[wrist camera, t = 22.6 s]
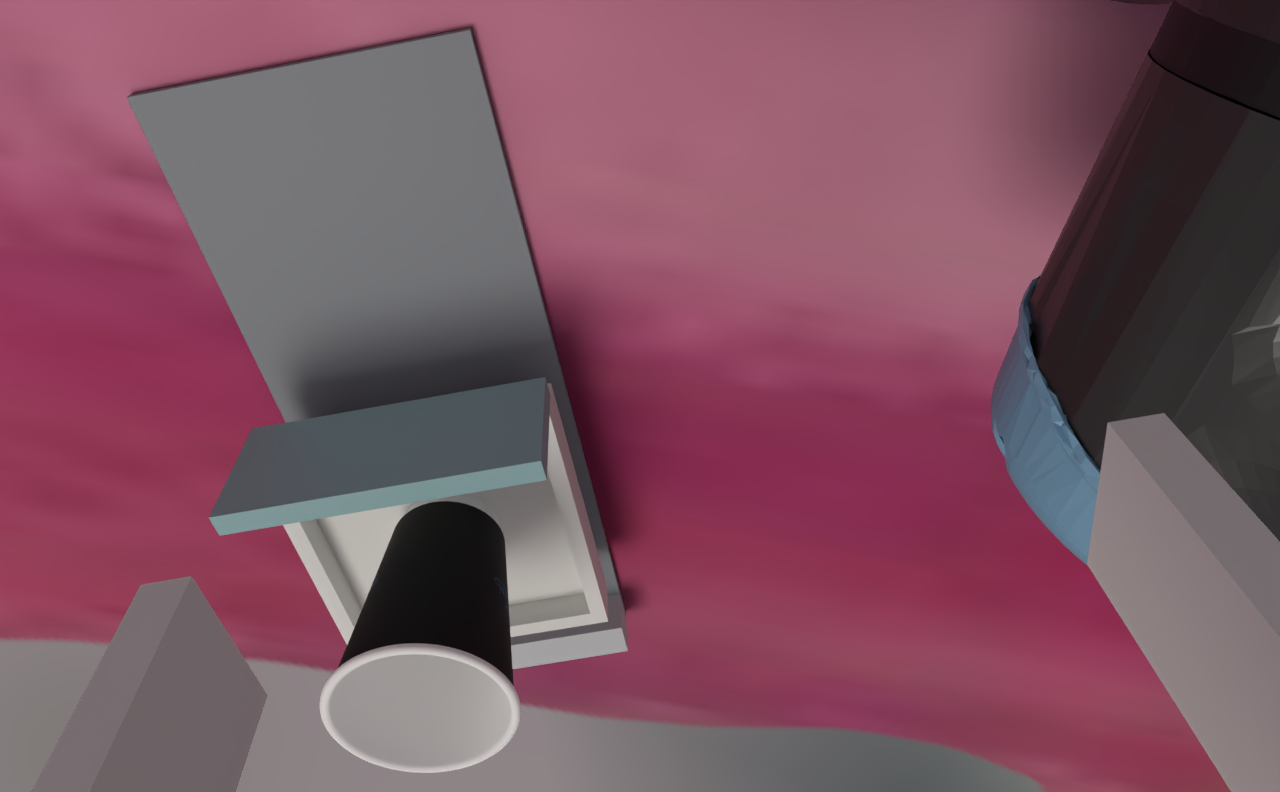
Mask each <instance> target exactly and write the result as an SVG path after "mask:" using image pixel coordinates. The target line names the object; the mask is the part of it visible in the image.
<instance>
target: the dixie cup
mask: <svg viewBox="0 0 1280 792" xmlns="http://www.w3.org/2000/svg"><path fill="white" fill-rule="evenodd" d="M320 714H321V718H322V721H323V723H324V726H325V727H326V729H327V730H328V732H329V733H330V735H331V736H332V737H333V738H334V739H335V740H336V741H337V742H338V743H339V744H340V745H341V746H342V747H344V748H345V749H346V750H348V751H349V752H350V753H352V754H354V755H356V756H357V757H359V758H361V759H363V760H365V761H367V762H370V763H372V764H375V765H378V766H381V767H385V768H389V769H393V770H398V771H406V772H416V773H435V772H445V771H452V770H457V769H461V768H465V767H468V766H471V765H474V764H476V763H479V762H481V761H484V760H485V759H487V758H489V757H491V756H492V755H494V754H496V753H497V752H498V751H500V750H501V749H502V748H503V747H505V745H506V744H507V743H508V742H509V741H510V740H511V739H512V737H513V736H514V734H515V732H516V730H517V728H518V725H519V722H520V718H521V705H520V701H519V697H518V694H517V692H516V690H515V688H514V686H513V669H512V652H511V635H510V618H509V601H508V584H507V567H506V550H505V539H504V535H503V532H502V530H501V528H500V525H499V521H498V518H497V516H496V514H495V513H494V511H493V510H492V509H491V508H490V507H489V506H488V505H487V504H486V503H485V502H483V501H482V500H480V499H478V498H476V497H474V496H471V495H469V494H462V495H456V496H450V497H444V498H438V499H432V500H427V501H421V502H415V503H413V504H412V505H411V506H410V507H409V509H408V510H407V512H406V514H405V515H404V516H403V517H402V518H401V519H400V521H399V522H398V523H397V525H396V527H395V529H394V532H393V534H392V537H391V539H390V542H389V544H388V546H387V549H386V551H385V554H384V556H383V559H382V561H381V564H380V566H379V569H378V571H377V573H376V576H375V578H374V581H373V583H372V586H371V588H370V591H369V593H368V596H367V598H366V601H365V603H364V605H363V608H362V610H361V613H360V615H359V618H358V620H357V623H356V625H355V628H354V630H353V632H352V635H351V637H350V640H349V642H348V645H347V647H346V650H345V652H344V655H343V657H342V660H341V662H340V664H339V667H338V668H337V669H336V670H335V671H334V672H333V673H332V675H331V676H330V677H329V679H328V680H327V682H326V684H325V685H324V687H323V689H322V692H321V696H320Z"/></svg>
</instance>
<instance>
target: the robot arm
mask: <svg viewBox="0 0 1280 792" xmlns="http://www.w3.org/2000/svg"><path fill="white" fill-rule="evenodd" d="M1112 1H1118V2H1125V3H1136V4H1166V3H1172V5H1171V7H1170V9H1169V11H1168V13H1167V15H1166V17H1165V19H1164V22H1163V24H1162V26H1161V28H1160V30H1159V32H1158V34H1157V36H1156V38H1155V40H1154V43H1153V45H1152V47H1151V48H1150V49H1149V51H1148V53H1147V56H1146V58H1145V60H1144V62H1143V64H1142V66H1141V68H1140V71H1139V73H1138V75H1137V77H1136V79H1135V81H1134V83H1133V85H1132V87H1131V89H1130V91H1129V93H1128V95H1127V98H1126V100H1125V102H1124V104H1123V106H1122V108H1121V110H1120V112H1119V114H1118V116H1117V118H1116V120H1115V122H1114V125H1113V127H1112V129H1111V131H1110V133H1109V135H1108V137H1107V139H1106V141H1105V143H1104V145H1103V147H1102V149H1101V152H1100V154H1099V156H1098V158H1097V160H1096V162H1095V164H1094V166H1093V168H1092V170H1091V172H1090V174H1089V176H1088V178H1087V181H1086V183H1085V185H1084V187H1083V189H1082V191H1081V193H1080V195H1079V197H1078V199H1077V201H1076V203H1075V205H1074V208H1073V210H1072V212H1071V214H1070V216H1069V218H1068V220H1067V222H1066V224H1065V226H1064V228H1063V230H1062V232H1061V235H1060V237H1059V239H1058V241H1057V243H1056V245H1055V247H1054V249H1053V251H1052V253H1051V255H1050V257H1049V259H1048V262H1047V264H1046V266H1045V268H1044V270H1043V272H1042V274H1041V276H1039V277H1038V278H1036V279H1034V280H1032V282H1031V284H1030V285H1029V287H1028V288H1027V290H1026V292H1025V294H1024V296H1023V299H1022V302H1021V305H1020V309H1019V320H1018V327H1017V329H1016V332H1015V334H1014V337H1013V339H1012V341H1011V344H1010V346H1009V349H1008V351H1007V354H1006V356H1005V358H1004V361H1003V363H1002V366H1001V368H1000V371H999V373H998V375H997V378H996V381H995V384H994V388H993V392H992V399H991V423H992V429H993V434H994V436H995V439H996V442H997V445H998V447H999V449H1000V451H1001V452H1002V454H1003V455H1004V457H1005V460H1006V469H1007V471H1008V474H1009V476H1010V477H1011V479H1012V481H1013V483H1014V484H1015V486H1016V487H1017V489H1018V491H1019V492H1020V493H1021V495H1022V496H1023V498H1024V499H1025V501H1026V502H1027V504H1028V505H1029V506H1030V508H1031V509H1032V510H1033V511H1034V513H1035V514H1036V515H1037V516H1038V518H1039V519H1040V520H1041V521H1042V522H1043V523H1044V525H1045V526H1046V527H1047V528H1048V529H1049V530H1050V531H1051V532H1052V533H1053V534H1054V535H1055V536H1056V537H1057V538H1058V539H1059V540H1060V541H1061V542H1062V543H1063V544H1064V545H1065V546H1066V547H1067V548H1068V549H1069V550H1070V551H1071V552H1072V553H1073V554H1074V555H1076V556H1077V557H1078V558H1079V559H1080V560H1081V561H1083V562H1084V563H1085V564H1086V565H1087V566H1089V568H1090V569H1091V571H1092V573H1093V574H1094V576H1095V577H1096V579H1097V581H1098V582H1099V584H1100V585H1101V587H1102V588H1103V590H1104V592H1105V593H1106V595H1107V596H1108V598H1109V599H1110V601H1111V603H1112V604H1113V606H1114V607H1115V609H1116V611H1117V612H1118V614H1119V615H1120V617H1121V618H1122V620H1123V622H1124V623H1125V625H1126V626H1127V628H1128V629H1129V631H1130V633H1131V634H1132V636H1133V637H1134V639H1135V641H1136V642H1137V644H1138V645H1139V647H1140V648H1141V650H1142V652H1143V653H1144V655H1145V656H1146V658H1147V659H1148V661H1149V663H1150V664H1151V666H1152V667H1153V669H1154V670H1155V672H1156V674H1157V675H1158V677H1159V678H1160V680H1161V682H1162V683H1163V685H1164V686H1165V688H1166V689H1167V691H1168V693H1169V694H1170V696H1171V697H1172V699H1173V700H1174V702H1175V704H1176V705H1177V707H1178V708H1179V710H1180V712H1181V713H1182V715H1183V716H1184V718H1185V719H1186V721H1187V723H1188V724H1189V726H1190V727H1191V729H1192V730H1193V732H1194V734H1195V735H1196V737H1197V738H1198V740H1199V742H1200V743H1201V745H1202V746H1203V748H1204V749H1205V751H1206V753H1207V754H1208V756H1209V757H1210V759H1211V760H1212V762H1213V764H1214V765H1215V767H1216V768H1217V770H1218V771H1219V773H1220V775H1221V776H1222V778H1223V779H1224V781H1225V783H1226V784H1227V786H1228V787H1229V789H1230V790H1231V792H1280V0H1112ZM266 698H267V694H266V692H265V691H264V689H263V687H262V686H261V684H260V683H259V681H258V680H257V678H256V676H255V675H254V673H253V672H252V670H251V669H250V667H249V665H248V664H247V662H246V661H245V659H244V658H243V656H242V654H241V653H240V651H239V650H238V648H237V647H236V645H235V643H234V642H233V640H232V639H231V637H230V636H229V634H228V633H227V631H226V629H225V628H224V626H223V625H222V623H221V622H220V620H219V618H218V617H217V615H216V614H215V612H214V611H213V609H212V607H211V606H210V604H209V603H208V601H207V600H206V598H205V597H204V595H203V593H202V592H201V590H200V589H199V587H198V586H197V584H196V582H195V581H194V579H193V578H192V576H190V577H184V578H178V579H172V580H167V581H161V582H155V583H149V584H143V585H141V586H140V588H139V589H138V591H137V593H136V595H135V597H134V599H133V601H132V603H131V605H130V606H129V608H128V610H127V612H126V614H125V616H124V618H123V620H122V621H121V623H120V625H119V627H118V629H117V631H116V633H115V635H114V637H113V638H112V640H111V642H110V644H109V646H108V648H107V650H106V652H105V654H104V655H103V657H102V659H101V661H100V663H99V665H98V667H97V669H96V670H95V672H94V674H93V676H92V678H91V680H90V682H89V684H88V686H87V687H86V690H85V691H84V693H83V695H82V697H81V699H80V701H79V703H78V704H77V706H76V708H75V710H74V712H73V714H72V716H71V718H70V720H69V721H68V723H67V725H66V727H65V729H64V731H63V733H62V735H61V736H60V738H59V740H58V742H57V744H56V746H55V748H54V750H53V752H52V753H51V755H50V757H49V759H48V761H47V763H46V765H45V767H44V768H43V770H42V772H41V774H40V776H39V778H38V780H37V782H36V784H35V785H34V788H33V789H32V791H31V792H235V791H236V788H237V785H238V782H239V779H240V776H241V773H242V770H243V767H244V764H245V761H246V758H247V755H248V752H249V749H250V746H251V743H252V740H253V737H254V734H255V731H256V728H257V725H258V722H259V719H260V716H261V713H262V710H263V707H264V704H265V701H266Z"/></svg>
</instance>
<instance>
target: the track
mask: <svg viewBox="0 0 1280 792" xmlns="http://www.w3.org/2000/svg"><path fill="white" fill-rule="evenodd" d="M127 99H128V101H129V103H130V105H131V108H132V110H133V112H134V114H135V116H136V118H137V120H138V122H139V124H140V126H141V128H142V130H143V132H144V134H145V136H146V138H147V140H148V142H149V144H150V146H151V148H152V150H153V152H154V155H155V157H156V159H157V161H158V163H159V165H160V167H161V169H162V171H163V173H164V175H165V177H166V179H167V181H168V183H169V185H170V187H171V189H172V191H173V193H174V195H175V197H176V199H177V201H178V204H179V206H180V208H181V210H182V212H183V214H184V216H185V218H186V220H187V222H188V224H189V226H190V228H191V230H192V232H193V234H194V236H195V238H196V240H197V242H198V244H199V246H200V248H201V250H202V253H203V255H204V257H205V259H206V261H207V263H208V265H209V267H210V269H211V271H212V273H213V275H214V277H215V279H216V281H217V283H218V285H219V287H220V289H221V291H222V293H223V295H224V297H225V300H226V302H227V304H228V306H229V308H230V310H231V312H232V314H233V316H234V318H235V320H236V322H237V324H238V326H239V328H240V330H241V332H242V334H243V336H244V338H245V340H246V342H247V344H248V346H249V349H250V351H251V353H252V355H253V357H254V359H255V361H256V363H257V365H258V367H259V369H260V371H261V373H262V375H263V377H264V379H265V381H266V383H267V385H268V387H269V389H270V391H271V393H272V395H273V398H274V400H275V402H276V404H277V406H278V408H279V410H280V412H281V414H282V416H283V418H284V420H285V422H286V423H287V422H293V421H298V420H304V419H310V418H315V417H321V416H327V415H332V414H338V413H344V412H349V411H355V410H361V409H367V408H372V407H378V406H384V405H389V404H395V403H401V402H406V401H412V400H418V399H423V398H429V397H435V396H440V395H446V394H452V393H457V392H463V391H469V390H475V389H480V388H486V387H492V386H497V385H503V384H509V383H514V382H520V381H526V380H531V379H537V378H543V377H546V381H547V383H551V385H552V388H553V392H554V396H555V399H556V403H557V406H558V410H559V414H560V417H561V421H562V425H563V428H564V432H565V435H566V439H567V443H568V446H569V450H570V454H571V457H572V461H573V464H574V468H575V472H576V475H577V479H578V483H579V486H580V490H581V493H582V497H583V501H584V504H585V508H586V512H587V515H588V519H589V523H590V526H591V530H592V533H593V537H594V541H595V544H596V548H597V552H598V555H599V559H600V562H601V566H602V570H603V573H604V577H605V581H606V584H607V598H608V622H602V623H596V624H590V625H584V626H577V627H571V628H565V629H559V630H553V631H546V632H540V633H534V634H528V635H522V636H515V637H511V652H512V669H517V668H524V667H530V666H536V665H542V664H549V663H555V662H561V661H567V660H574V659H580V658H586V657H593V656H599V655H605V654H611V653H618V652H624V651H628V645H627V627H626V611H625V607H624V603H623V600H622V596H621V592H620V588H619V584H618V581H617V577H616V573H615V569H614V566H613V562H612V558H611V554H610V551H609V547H608V543H607V539H606V535H605V532H604V528H603V524H602V520H601V517H600V513H599V509H598V505H597V501H596V498H595V494H594V490H593V486H592V483H591V479H590V475H589V471H588V467H587V464H586V460H585V456H584V452H583V449H582V445H581V441H580V437H579V434H578V430H577V426H576V422H575V418H574V415H573V411H572V407H571V403H570V400H569V396H568V392H567V388H566V384H565V381H564V377H563V373H562V369H561V366H560V362H559V358H558V354H557V351H556V347H555V343H554V339H553V335H552V332H551V328H550V324H549V320H548V317H547V313H546V309H545V305H544V301H543V298H542V294H541V290H540V286H539V283H538V279H537V275H536V271H535V267H534V264H533V260H532V256H531V252H530V249H529V245H528V241H527V237H526V234H525V230H524V226H523V222H522V218H521V215H520V211H519V207H518V203H517V200H516V196H515V192H514V188H513V184H512V181H511V177H510V173H509V169H508V166H507V162H506V158H505V154H504V150H503V147H502V143H501V139H500V135H499V132H498V128H497V124H496V120H495V117H494V113H493V109H492V105H491V101H490V98H489V94H488V90H487V86H486V83H485V79H484V75H483V71H482V67H481V64H480V60H479V56H478V52H477V49H476V45H475V41H474V37H473V34H472V30H471V28H466V29H461V30H456V31H451V32H446V33H441V34H436V35H431V36H425V37H420V38H415V39H410V40H405V41H400V42H395V43H390V44H385V45H380V46H375V47H370V48H364V49H359V50H354V51H349V52H344V53H339V54H334V55H329V56H324V57H319V58H314V59H309V60H303V61H298V62H293V63H288V64H283V65H278V66H273V67H268V68H263V69H258V70H253V71H248V72H242V73H237V74H232V75H227V76H222V77H217V78H212V79H207V80H202V81H197V82H192V83H187V84H181V85H176V86H171V87H166V88H161V89H156V90H151V91H146V92H141V93H136V94H131V95H129V96H128V97H127Z"/></svg>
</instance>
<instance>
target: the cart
mask: <svg viewBox="0 0 1280 792" xmlns="http://www.w3.org/2000/svg"><path fill="white" fill-rule="evenodd" d="M462 494H469V495H471V496H474V497H476V498H478V499H480V500H482V501H483V502H485V503H486V504H487V505H488V506H489V507H490V508H491V509H492V510H493V511H494V513H495V514H496V516H497V518H498V521H499V525H500V528H501V530H502V532H503V535H504V539H505V550H506V567H507V584H508V601H509V618H510V635H511V637H515V636H522V635H528V634H534V633H540V632H546V631H553V630H559V629H565V628H571V627H577V626H584V625H590V624H596V623H602V622H608V598H607V584H606V581H605V577H604V573H603V570H602V566H601V562H600V559H599V555H598V552H597V548H596V544H595V541H594V537H593V533H592V530H591V526H590V523H589V519H588V515H587V512H586V508H585V504H584V501H583V497H582V493H581V490H580V486H579V483H578V479H577V475H576V472H575V468H574V464H573V461H572V457H571V454H570V450H569V446H568V443H567V439H566V435H565V432H564V428H563V425H562V421H561V417H560V414H559V410H558V406H557V403H556V399H555V396H554V392H553V388H552V385H551V383H547V381H546V377H543V378H537V379H531V380H526V381H520V382H514V383H509V384H503V385H497V386H492V387H486V388H480V389H475V390H469V391H463V392H457V393H452V394H446V395H440V396H435V397H429V398H423V399H418V400H412V401H406V402H401V403H395V404H389V405H384V406H378V407H372V408H367V409H361V410H355V411H349V412H344V413H338V414H332V415H327V416H321V417H315V418H310V419H304V420H298V421H293V422H287V423H281V424H276V425H270V426H264V427H259V428H253V429H252V430H251V432H250V434H249V436H248V438H247V440H246V442H245V444H244V446H243V448H242V451H241V453H240V455H239V457H238V459H237V461H236V463H235V465H234V467H233V469H232V471H231V473H230V475H229V477H228V479H227V481H226V483H225V485H224V487H223V489H222V491H221V494H220V496H219V498H218V500H217V502H216V504H215V506H214V508H213V510H212V512H211V514H210V516H209V519H210V521H211V522H212V524H213V526H214V527H215V529H216V531H217V533H218V534H219V536H221V535H227V534H232V533H238V532H244V531H250V530H256V529H262V528H268V527H274V526H280V525H283V526H284V528H285V530H286V532H287V533H288V535H289V537H290V539H291V541H292V543H293V545H294V547H295V548H296V550H297V552H298V554H299V556H300V558H301V560H302V562H303V563H304V565H305V567H306V569H307V571H308V573H309V575H310V576H311V578H312V580H313V582H314V584H315V586H316V588H317V590H318V591H319V593H320V595H321V597H322V599H323V601H324V603H325V605H326V606H327V608H328V610H329V612H330V614H331V616H332V618H333V620H334V621H335V623H336V625H337V627H338V629H339V631H340V633H341V635H342V636H343V638H344V640H345V642H346V644H347V645H348V642H349V640H350V637H351V635H352V632H353V630H354V628H355V625H356V623H357V620H358V618H359V615H360V613H361V610H362V608H363V605H364V603H365V601H366V598H367V596H368V593H369V591H370V588H371V586H372V583H373V581H374V578H375V576H376V573H377V571H378V569H379V566H380V564H381V561H382V559H383V556H384V554H385V551H386V549H387V546H388V544H389V542H390V539H391V537H392V534H393V532H394V529H395V527H396V525H397V523H398V522H399V521H400V519H401V518H402V517H403V516H404V515H405V514H406V512H407V510H408V509H409V507H410V506H411V505H412V504H413V503H415V502H421V501H427V500H432V499H438V498H444V497H450V496H456V495H462Z"/></svg>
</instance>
